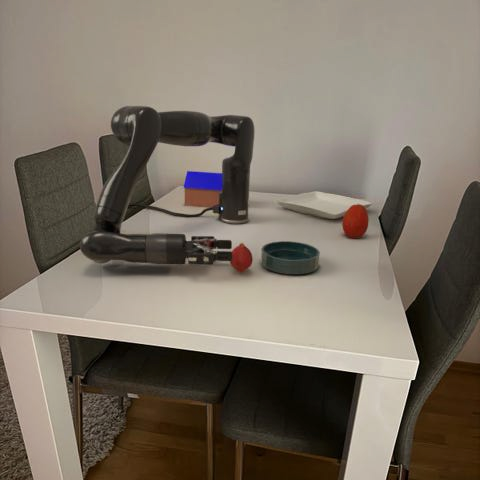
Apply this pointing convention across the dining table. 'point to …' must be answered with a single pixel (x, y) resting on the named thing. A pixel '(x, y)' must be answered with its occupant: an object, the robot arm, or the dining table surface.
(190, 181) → the house
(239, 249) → the red lemon
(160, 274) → the dining table surface
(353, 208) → the red egg
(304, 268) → the bowl
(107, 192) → the robot arm
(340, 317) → the dining table surface
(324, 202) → the square plate
